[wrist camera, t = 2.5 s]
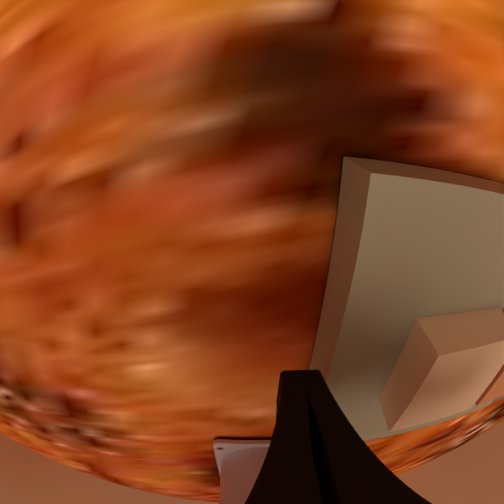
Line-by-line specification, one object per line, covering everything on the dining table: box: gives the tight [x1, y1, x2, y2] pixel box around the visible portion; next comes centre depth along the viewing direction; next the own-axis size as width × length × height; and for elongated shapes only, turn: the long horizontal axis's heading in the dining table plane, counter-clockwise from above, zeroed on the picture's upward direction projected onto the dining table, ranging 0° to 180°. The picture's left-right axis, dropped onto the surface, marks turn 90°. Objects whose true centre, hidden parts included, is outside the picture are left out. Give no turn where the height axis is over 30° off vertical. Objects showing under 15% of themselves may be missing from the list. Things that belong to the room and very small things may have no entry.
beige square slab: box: [309, 156, 504, 441], centre depth 12 cm, size 15×15×2 cm
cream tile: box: [378, 307, 504, 432], centre depth 10 cm, size 5×5×2 cm
